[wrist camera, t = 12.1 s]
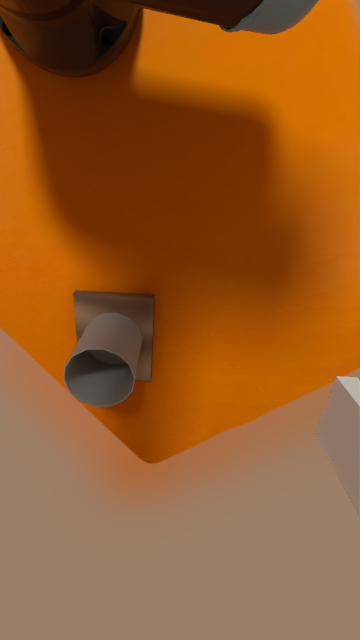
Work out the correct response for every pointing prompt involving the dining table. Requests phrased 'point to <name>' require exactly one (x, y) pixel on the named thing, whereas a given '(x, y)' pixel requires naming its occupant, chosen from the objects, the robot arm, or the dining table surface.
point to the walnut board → (124, 304)
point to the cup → (104, 361)
